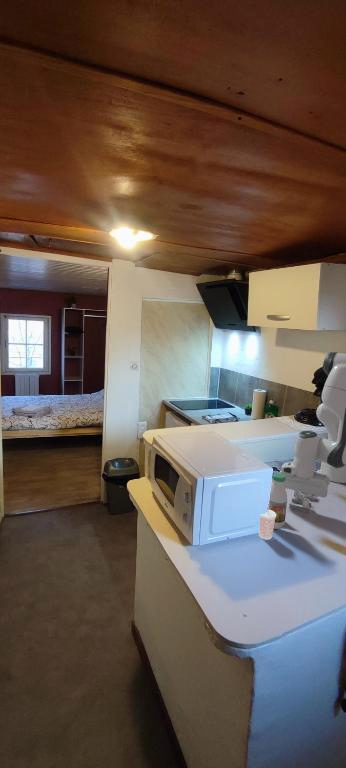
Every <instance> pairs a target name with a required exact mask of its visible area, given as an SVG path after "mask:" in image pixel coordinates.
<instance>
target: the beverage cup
mask: <svg viewBox="0 0 346 768" xmlns="http://www.w3.org/2000/svg"><path fill="white" fill-rule="evenodd" d="M269 502H270V500H269ZM267 510H268V511H267V512H266V513H265V514H260V516H261V518H260V527H259V526H258V536H259V537H260V539H262V540H265V541H268V540H271V539H272V538H273V532H274V529H273V528H274V522H275V518H276V513H275V512H274V511H272V510H269V504H268V508H267Z"/></svg>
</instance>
